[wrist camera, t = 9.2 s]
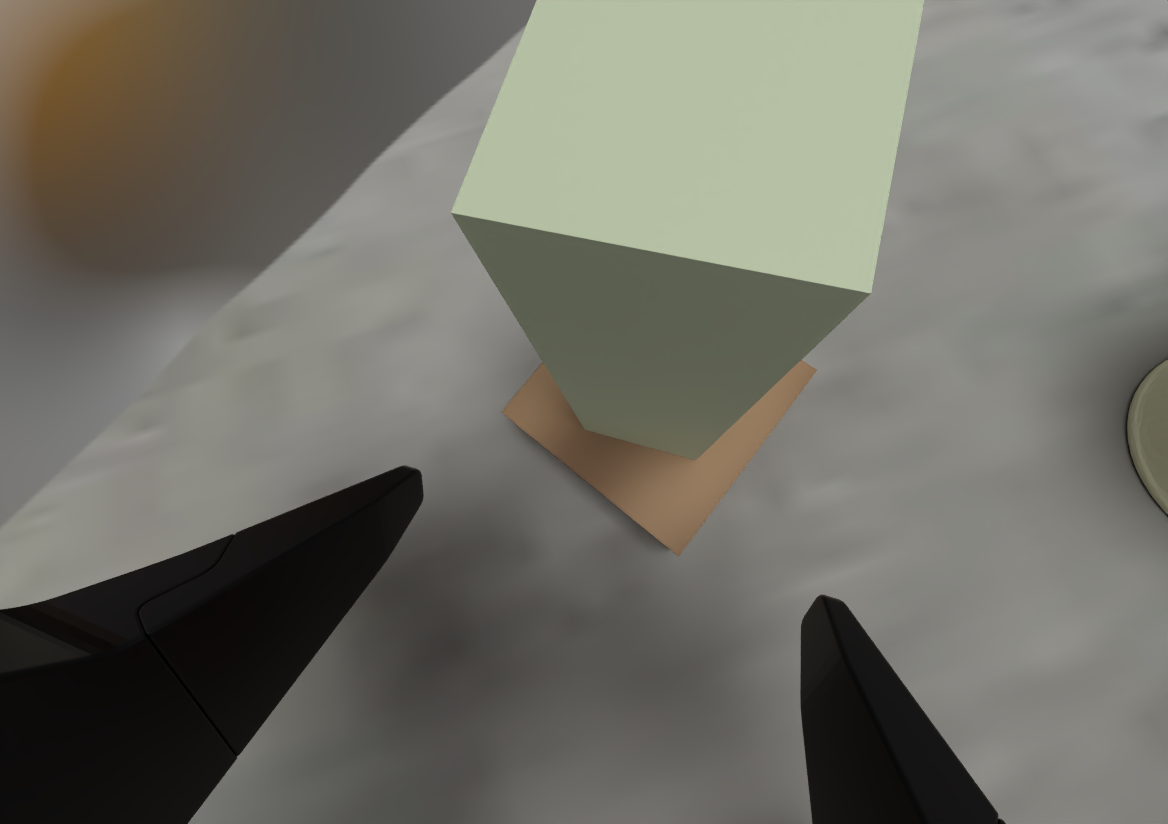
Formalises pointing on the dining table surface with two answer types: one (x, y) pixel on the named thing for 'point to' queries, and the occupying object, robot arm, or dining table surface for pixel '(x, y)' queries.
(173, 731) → the robot arm
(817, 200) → the sage post
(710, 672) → the dining table surface
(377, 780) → the dining table surface
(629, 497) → the walnut slab
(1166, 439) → the can
